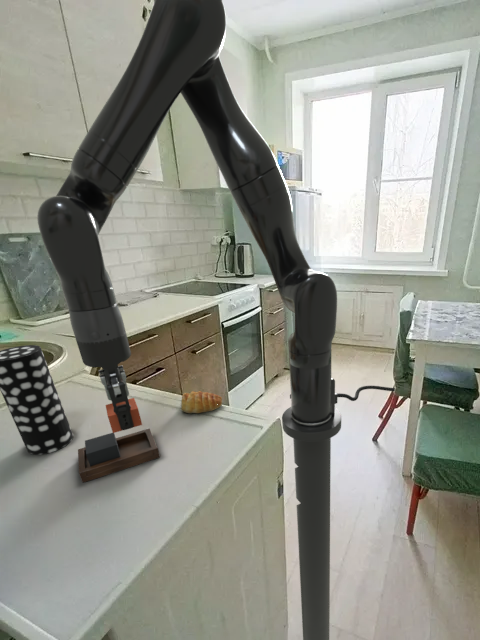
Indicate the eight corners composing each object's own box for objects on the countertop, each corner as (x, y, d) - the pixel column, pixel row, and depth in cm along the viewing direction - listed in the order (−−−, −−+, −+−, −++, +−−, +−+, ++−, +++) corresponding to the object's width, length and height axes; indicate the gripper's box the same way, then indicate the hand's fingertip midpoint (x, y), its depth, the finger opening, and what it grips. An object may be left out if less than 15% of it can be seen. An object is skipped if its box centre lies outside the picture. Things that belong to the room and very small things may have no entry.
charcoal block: (118, 447, 69) (113, 432, 68) (121, 460, 65) (116, 444, 64) (90, 455, 67) (84, 440, 65) (91, 470, 63) (85, 454, 62)
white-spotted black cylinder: (70, 427, 79) (38, 342, 70) (76, 443, 73) (42, 352, 64) (26, 441, 74) (-14, 352, 66) (28, 460, 68) (-15, 364, 60)
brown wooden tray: (151, 437, 74) (149, 428, 73) (160, 457, 67) (157, 448, 66) (81, 458, 68) (77, 449, 67) (82, 483, 61) (78, 473, 61)
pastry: (223, 399, 88) (221, 385, 86) (221, 412, 82) (219, 398, 80) (185, 402, 87) (182, 388, 85) (180, 416, 81) (177, 401, 79)
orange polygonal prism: (138, 413, 69) (133, 397, 67) (142, 424, 65) (138, 408, 63) (110, 421, 67) (105, 404, 65) (112, 433, 63) (107, 416, 61)
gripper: (131, 340, 54) (154, 433, 61) (120, 320, 66) (140, 400, 73) (76, 350, 51) (107, 447, 58) (74, 327, 62) (100, 411, 70)
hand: (125, 421), depth 66 cm, fingers closed on orange polygonal prism, 5 cm apart
